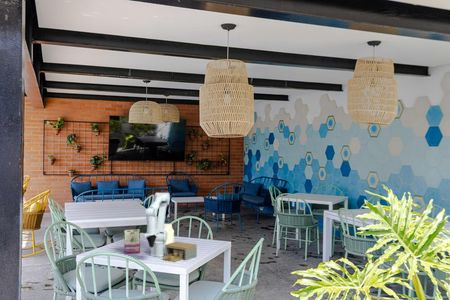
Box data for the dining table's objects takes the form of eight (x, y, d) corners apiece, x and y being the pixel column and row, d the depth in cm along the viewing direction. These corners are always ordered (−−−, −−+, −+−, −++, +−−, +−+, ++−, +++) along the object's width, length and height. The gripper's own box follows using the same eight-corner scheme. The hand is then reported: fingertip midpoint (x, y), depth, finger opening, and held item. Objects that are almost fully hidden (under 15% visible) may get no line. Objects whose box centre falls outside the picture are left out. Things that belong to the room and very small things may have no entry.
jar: (169, 241, 338) (169, 222, 338) (176, 243, 330) (176, 224, 330) (157, 243, 331) (157, 224, 331) (163, 245, 323) (163, 226, 323)
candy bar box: (140, 251, 305) (140, 229, 305) (140, 253, 300) (140, 230, 300) (124, 252, 302) (124, 229, 302) (124, 254, 297) (124, 230, 297)
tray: (162, 260, 281) (162, 252, 281) (176, 255, 292) (176, 247, 292) (174, 262, 275) (174, 254, 275) (187, 257, 287) (187, 249, 287)
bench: (165, 256, 289) (165, 244, 289) (176, 253, 299) (176, 241, 299) (186, 260, 279) (186, 248, 279) (196, 256, 290) (196, 244, 290)
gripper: (148, 228, 267) (148, 250, 267) (163, 225, 280) (163, 245, 280) (140, 227, 271) (140, 248, 271) (155, 224, 284) (155, 244, 284)
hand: (151, 247), depth 276 cm, fingers closed
